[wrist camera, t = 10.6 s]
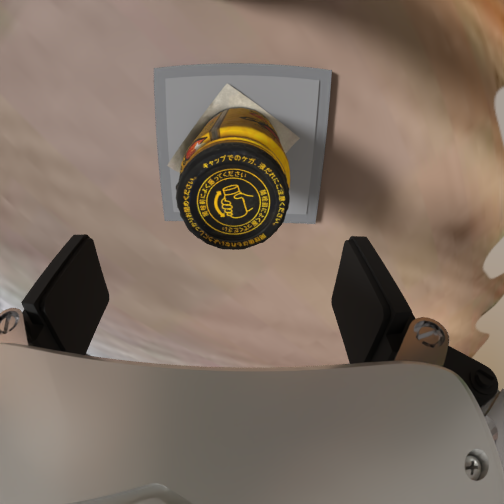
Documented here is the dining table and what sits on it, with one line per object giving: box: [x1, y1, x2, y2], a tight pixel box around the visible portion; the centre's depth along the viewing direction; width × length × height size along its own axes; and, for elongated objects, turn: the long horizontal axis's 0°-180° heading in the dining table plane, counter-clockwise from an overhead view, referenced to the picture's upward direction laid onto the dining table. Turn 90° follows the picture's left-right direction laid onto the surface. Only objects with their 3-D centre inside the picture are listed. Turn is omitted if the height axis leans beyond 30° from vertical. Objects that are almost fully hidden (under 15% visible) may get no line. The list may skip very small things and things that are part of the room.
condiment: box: [167, 84, 300, 250], centre depth 18 cm, size 7×8×12 cm
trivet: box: [154, 63, 332, 224], centre depth 24 cm, size 14×14×1 cm
